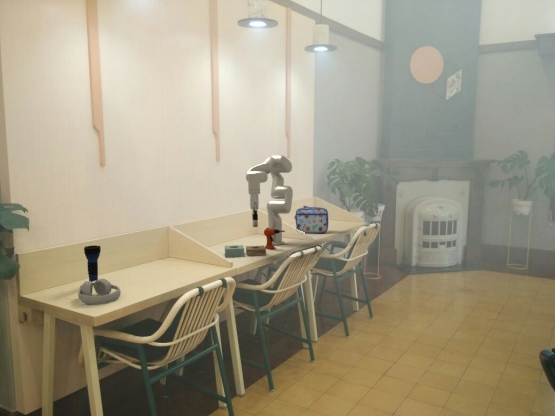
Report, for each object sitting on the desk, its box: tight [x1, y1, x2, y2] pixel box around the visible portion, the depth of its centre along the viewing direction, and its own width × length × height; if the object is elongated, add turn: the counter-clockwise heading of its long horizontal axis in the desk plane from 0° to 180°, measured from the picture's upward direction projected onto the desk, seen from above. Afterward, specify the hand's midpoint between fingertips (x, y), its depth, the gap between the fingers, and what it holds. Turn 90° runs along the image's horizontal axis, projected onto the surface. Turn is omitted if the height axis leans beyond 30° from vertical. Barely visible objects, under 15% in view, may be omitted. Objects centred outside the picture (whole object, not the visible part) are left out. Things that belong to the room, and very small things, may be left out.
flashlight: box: [83, 245, 102, 286], centre depth 256 cm, size 8×8×20 cm
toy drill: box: [263, 227, 286, 251], centre depth 338 cm, size 5×19×15 cm, turn 49°
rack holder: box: [224, 244, 245, 258], centre depth 324 cm, size 12×12×5 cm
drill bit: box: [251, 210, 259, 228], centre depth 324 cm, size 3×3×10 cm
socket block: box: [245, 245, 267, 257], centre depth 326 cm, size 12×12×4 cm
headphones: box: [77, 278, 122, 305], centre depth 233 cm, size 18×8×20 cm
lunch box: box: [293, 205, 329, 234], centre depth 400 cm, size 28×10×22 cm, turn 82°
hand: (255, 219), depth 324 cm, fingers closed on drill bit, 3 cm apart
